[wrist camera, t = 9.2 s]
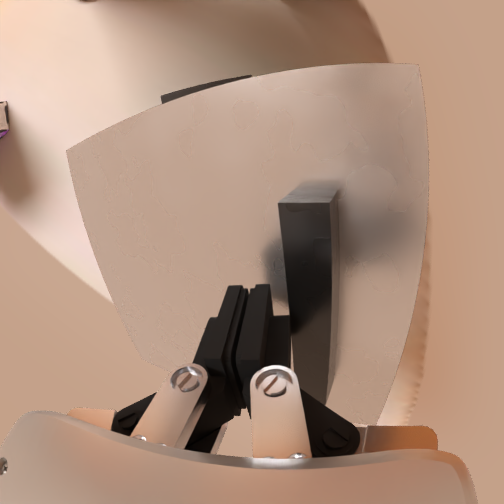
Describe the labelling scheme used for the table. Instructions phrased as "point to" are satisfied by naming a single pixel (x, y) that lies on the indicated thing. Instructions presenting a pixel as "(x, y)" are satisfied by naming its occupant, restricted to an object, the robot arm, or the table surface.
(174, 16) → the table surface
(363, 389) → the lid
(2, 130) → the candy box
